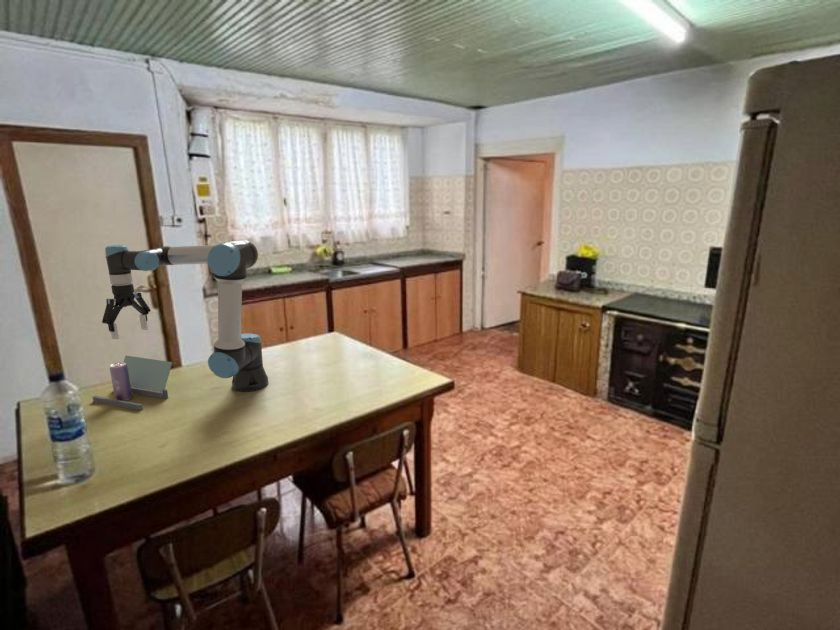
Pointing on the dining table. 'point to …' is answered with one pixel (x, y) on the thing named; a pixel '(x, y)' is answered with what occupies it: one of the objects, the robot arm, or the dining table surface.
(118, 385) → the beverage can
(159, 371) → the cover
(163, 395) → the plastic rails
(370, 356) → the dining table surface
